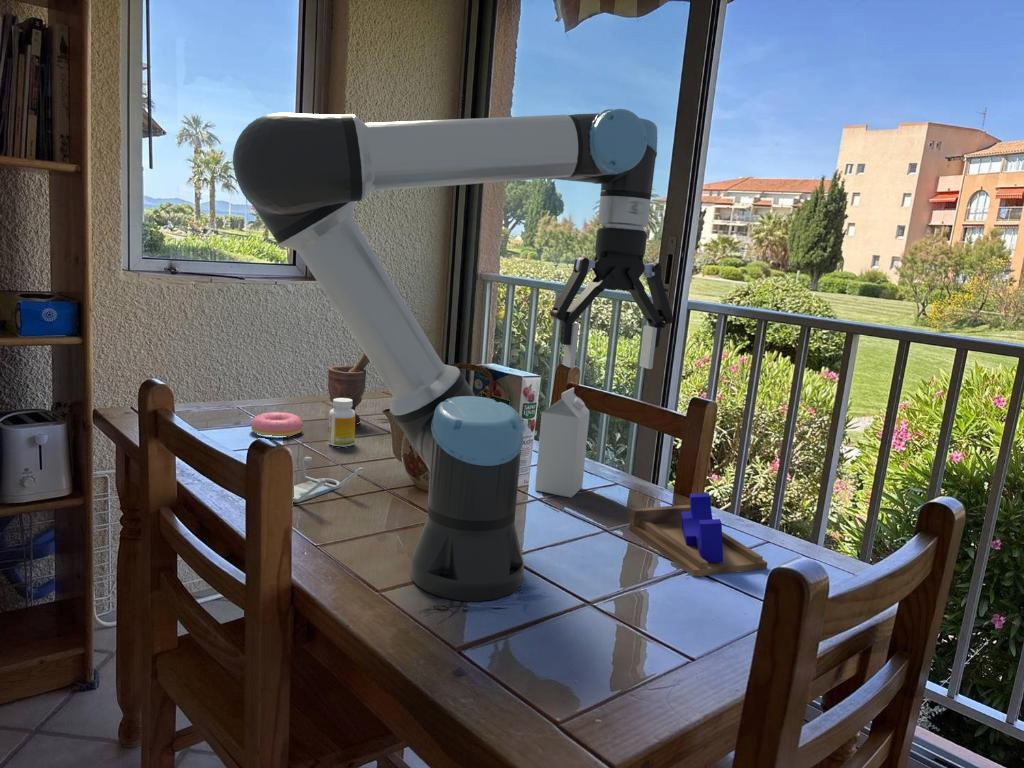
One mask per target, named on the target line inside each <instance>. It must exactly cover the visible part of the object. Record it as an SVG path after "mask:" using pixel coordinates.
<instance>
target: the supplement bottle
mask: <svg viewBox="0 0 1024 768" xmlns="http://www.w3.org/2000/svg"><path fill="white" fill-rule="evenodd" d="M352 405H353V400H352V399H349V398H335V399H333V403H332V407H333V408H332V409H330V410H329V416H328V420H329V423H328V440H327V441H328V445H329V444H331V445H334V446H351V445H353V444H354V445H355V442H356V441H355V439H356V438H355V435H356V425H355V412H356V410H355V411H354V410H353V409H351V407H352ZM354 445H353V446H354ZM351 447H352V446H351Z"/></svg>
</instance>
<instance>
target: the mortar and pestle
mask: <svg viewBox="0 0 1024 768" xmlns="http://www.w3.org/2000/svg"><path fill="white" fill-rule="evenodd" d="M369 363H371V362H370V361H369V359H368V358H367V356H366V355H365V353H364V352H363V353H362V355H361V357H360V358H359V359H358V361H357V363H356V364H355V365H331V366H329V367H328V371H327V374H328V375H327V376H328V378H327V379H328V380H327V387H328V388H327V389H328V390H327V391H328V394H329V399H330V400H329V401H330V402H331V403H332V404H333V399H335V398H349V399H352V400H353V405H352V407H351V409H353V410H354V411H355V424H357V423H359V422H360V421H361V418H360V415H359V414H357V412H356V408H357V407H358V406H359V405H360V404H361V402H362V400H363V398H362V397H363V396H364V394H365V390H366V377H367V369H366V367H367V366H368V365H369Z"/></svg>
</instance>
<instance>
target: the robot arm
mask: <svg viewBox="0 0 1024 768" xmlns="http://www.w3.org/2000/svg"><path fill="white" fill-rule="evenodd" d="M657 155H658V127H657V125H656V123H655V122H653V121H652V120H650V119H647V118H641V117H639V116H638V115H637V114H635V113H634V112H633V111H631V110H628V109H625V108H614V109H605V110H603V111H602V112H597V113H578V114H577V113H575V114H551V115H550V114H549V115H530V116H529V115H527V116H526V115H525V116H503V117H500V116H499V117H483V118H482V117H479V118H477V117H476V118H459V119H458V118H454V119H453V118H452V119H432V120H411V121H410V120H407V121H387V122H386V121H385V122H383V121H382V122H364V121H362V120H361V119H360V118H359V117H357V115H355V114H353V113H352V114H351V113H349V114H347V113H346V114H319V113H314V114H313V113H300V112H299V113H296V112H295V113H294V112H276V113H269V114H264V115H263V116H260V117H258V118H257V117H256V119H254V120H253V121H251V122H250V123H249V124H248V125H246V127H245V128H244V129H243V130H242V131H241V133H240V134H239V136H238V138H237V140H236V142H235V145H234V148H233V154H232V166H233V167H232V168H233V171H234V176H235V179H236V182H237V184H238V187H239V190H240V191H241V193H242V194H243V196H244V197H245V198H246V200H247V201H248V202H249V203H250V204H251V205H252V207H253V208H254V210H255V211H256V212H257V215H258V216H259V218H260V219H261V220H262V222H263V223H264V224H265V226H266V228H267V229H268V230H269V232H270V234H271V235H272V236H273V238H274V240H275V241H276V243H277V244H278V246H280V247H283V248H287V249H290V250H294V251H296V252H297V254H298V255H299V256H300V258H301V259H302V261H303V262H304V264H305V265H306V266H307V268H308V270H309V271H310V273H311V275H312V276H313V278H314V279H315V281H316V282H317V283H318V285H319V287H320V288H321V289H322V290H321V291H323V293H324V294H325V296H326V297H327V298H328V301H329V302H330V303H331V305H332V306H333V308H334V309H335V311H336V312H337V314H338V315H339V317H340V318H341V320H342V322H343V323H344V324H345V326H346V327H347V329H348V331H349V332H350V333H351V334H352V336H353V338H354V340H355V341H356V343H357V344H358V345H359V348H360V349H361V350H362V352H363V353H365V355H366V356H367V358H368V359H369V361H370V362H369V363H370V364H371V366H372V367H373V369H374V370H375V371H376V373H377V374H378V376H379V377H380V379H381V380H382V383H384V385H385V386H386V388H387V390H388V391H389V392H390V394H391V396H392V399H391V402H390V408H389V412H390V413H391V415H392V416H393V418H394V419H395V421H396V422H397V424H398V426H399V427H400V429H401V430H402V431H403V434H405V436H406V437H407V441H408V442H409V444H410V446H411V448H412V449H413V450H414V451H415V453H417V455H418V456H419V457H420V458H421V460H422V461H423V464H425V466H426V467H427V469H428V471H429V480H428V481H429V485H428V499H427V501H428V502H427V516H426V521H425V523H424V526H423V527H422V530H421V533H420V536H419V537H418V541H417V543H416V546H415V548H414V550H413V553H412V556H411V561H410V576H411V577H410V578H411V579H412V581H413V582H414V584H415V585H416V586H418V587H419V588H420V589H422V590H423V591H425V592H427V593H429V594H432V595H434V596H437V597H440V598H443V599H448V600H456V601H465V602H466V601H467V602H480V601H481V602H482V601H489V600H495V599H496V600H497V599H499V598H504V597H506V596H508V595H511V594H512V593H514V592H515V591H517V590H518V589H519V588H520V587H521V585H522V584H523V580H524V570H525V563H524V562H525V561H524V558H523V553H522V549H521V546H520V541H519V538H518V533H517V529H516V525H515V524H516V523H515V522H516V510H517V499H518V488H519V477H520V476H519V475H520V467H521V466H520V465H521V454H522V448H523V445H524V436H523V435H524V433H523V422H522V418H521V415H520V414H519V413H518V411H517V410H515V409H514V408H513V407H512V406H511V405H509V404H507V403H504V402H502V401H499V402H498V401H496V400H495V399H494V398H489V397H484V396H478V395H477V396H476V394H475V393H474V391H473V390H472V388H471V386H470V385H469V384H468V382H467V380H466V379H465V377H464V376H463V373H462V372H461V370H460V369H459V368H458V367H457V366H453V365H450V364H449V365H448V364H445V363H444V362H443V361H442V359H441V358H440V356H439V355H438V353H437V352H436V350H435V348H434V347H433V345H432V344H431V342H430V340H429V339H428V337H427V336H426V334H425V332H424V330H423V329H422V327H421V326H420V324H419V323H418V321H417V319H416V318H415V316H414V314H413V313H412V312H411V309H410V308H409V307H408V305H407V304H406V301H405V300H404V298H403V297H402V295H401V294H400V291H398V289H397V287H396V286H395V284H394V282H393V281H392V279H391V277H390V276H389V274H388V272H387V271H386V269H385V268H384V266H383V264H382V263H381V261H380V260H379V258H378V257H377V254H376V252H374V249H372V247H371V245H370V243H369V242H368V241H367V239H366V237H365V235H364V234H363V232H362V231H361V229H360V228H359V225H358V224H357V223H356V221H355V219H354V214H353V213H354V210H355V204H356V202H362V201H363V202H364V201H365V199H366V198H367V197H368V196H369V195H370V193H372V192H379V191H395V190H406V189H407V190H408V189H421V188H435V187H448V186H449V187H451V186H462V185H474V184H478V185H479V184H490V183H491V184H492V183H503V182H516V181H532V180H533V181H534V180H545V179H547V181H550V180H560V181H570V182H580V183H582V182H583V183H590V184H591V183H592V184H598V185H600V198H599V208H598V217H597V223H598V224H600V227H598V229H597V230H596V237H595V245H594V246H595V247H594V251H595V256H594V258H593V260H592V259H589V258H588V257H582V256H581V257H580V256H577V257H576V258H575V259H574V262H573V268H572V272H571V273H570V276H569V278H568V280H566V283H565V284H564V287H563V288H562V290H561V292H560V294H559V296H558V297H557V299H556V301H555V302H554V304H553V306H552V307H551V310H550V312H549V315H550V317H551V318H554V319H557V321H560V323H561V325H560V333H559V334H560V336H559V342H560V345H561V344H562V345H564V346H563V356H562V365H563V366H565V367H567V368H570V369H575V368H576V367H575V366H576V359H577V358H576V357H577V347H578V337H579V325H580V324H576V323H575V322H576V320H577V319H578V318H580V316H581V315H582V314H583V313H584V311H585V310H586V309H587V308H588V307H589V305H591V304H592V302H593V301H595V299H596V298H597V297H598V296H599V295H600V293H603V292H604V291H605V290H609V291H615V290H618V291H623V292H624V291H626V292H628V293H629V294H630V295H631V297H632V298H633V300H634V302H635V303H636V305H637V307H638V309H639V310H640V312H641V313H642V315H643V316H644V318H645V319H646V321H647V323H648V325H643V328H642V329H643V330H642V336H641V337H642V338H641V339H642V340H641V346H640V347H641V348H640V356H639V367H640V368H641V367H642V368H645V369H648V370H652V369H653V367H654V358H655V357H654V356H655V348H658V347H659V345H660V339H661V332H662V331H661V330H662V329H665V327H666V326H667V325H669V324H672V323H673V322H674V317H673V314H672V309H671V305H670V303H669V300H668V299H669V298H668V297H667V292H666V289H665V286H664V283H663V279H662V265H661V263H658V262H647V263H644V256H645V253H646V249H647V248H646V247H647V238H648V233H647V231H646V230H644V228H647V227H648V226H649V220H650V219H649V218H650V217H649V216H650V209H651V199H652V198H651V197H652V192H653V182H654V174H655V167H656V158H657ZM591 271H593V273H594V274H595V275H594V276H593V278H592V279H591V280H590V281H589V282H588V284H587V286H586V287H585V288H584V290H583V291H581V293H580V294H579V295H578V296H577V297H576V295H577V293H578V292H579V291H580V289H581V286H582V285H583V283H584V281H585V279H586V277H587V274H589V273H590V272H591ZM642 276H644V277H646V283H647V287H648V289H649V292H650V296H651V299H652V300H651V299H650V297H649V295H648V294H647V292H646V290H645V289H646V288H645V286H644V285H643V283H642V281H641V279H640V278H641V277H642ZM574 299H575V300H574Z"/></svg>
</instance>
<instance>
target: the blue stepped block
mask: <svg viewBox="0 0 1024 768" xmlns="http://www.w3.org/2000/svg"><path fill="white" fill-rule="evenodd" d="M689 505H690V512H681V522H682V532H683V535H684V539H685V542H686V545H697V548H698V551H699V554H700V557H701V558H703V559H704V560H706V561H707V562H723V543H722V532H723V523H722V521H721V519H720V518H714V519H713V514H712V503H711V494H710V492H703V493H700V492H699V493H689Z"/></svg>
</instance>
